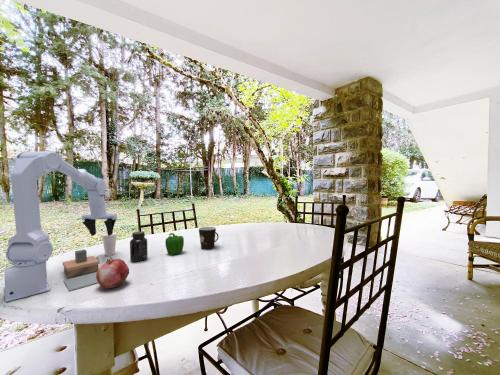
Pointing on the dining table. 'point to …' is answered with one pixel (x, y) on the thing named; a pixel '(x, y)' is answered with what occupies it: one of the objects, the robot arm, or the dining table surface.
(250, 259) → the dining table surface
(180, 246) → the bell pepper
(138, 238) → the supplement bottle
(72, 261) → the lid
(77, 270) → the box
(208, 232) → the coffee mug
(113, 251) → the smoothie
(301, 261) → the dining table surface
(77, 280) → the mat
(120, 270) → the fruit
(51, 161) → the robot arm
